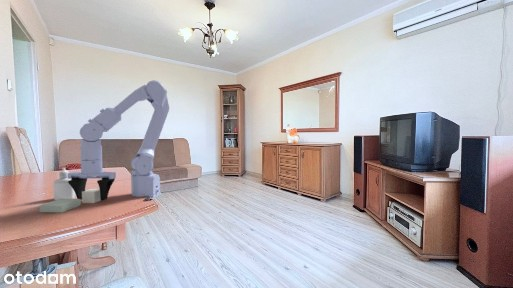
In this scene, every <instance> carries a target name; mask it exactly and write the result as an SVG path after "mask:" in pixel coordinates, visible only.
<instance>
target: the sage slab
mask: <svg viewBox="0 0 513 288" xmlns="http://www.w3.org/2000/svg"><path fill="white" fill-rule="evenodd" d="M81 204H82V200H81V199H77V198H73V199H58V200H52V201H50V202H46V203H42V204H39V212H60V213H59V214H63V213H62V212H64V211H67V210H69V209H72V208H75V207H77V206H80V205H81ZM80 207H81V206H80ZM75 209H76V208H75Z"/></svg>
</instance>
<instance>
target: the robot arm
mask: <svg viewBox="0 0 513 288" xmlns="http://www.w3.org/2000/svg"><path fill="white" fill-rule="evenodd" d="M167 93H168V91H167V89H166V88H165V86H164V85H163V83H162V82H160V81H159V80H150V81H148V82H147V84H144V85H142V86H140V87H138V88H137V89H135V90H133V91H132V92H131V93H130V94H129V95H128V96H126V97H125V98H124V99H123V100H122V101H120V102H119V103H118V104H116V106H114V107H106V108H105V109H104V108H101V109H100V110H99V114H96V116H95V117H93V118H92V119H91V118H89V119H88V120H87V123H84V124H83V125H82V127H81V128H80V130H79V135H80V137H81V140H80V171H70V172H69V173H68V179H71V180H70V181H68V183H69V184H70V185H71V187H72V188H73V190H74V192H75V197H76V199H81V201H82V192H83V191H86V186H87V181H88V179H99V180H97V181H96V183H97V184H98V189H100V199H101V200H100V201H101V202H103V201H105V200H108V196H109V192H110V190H111V188H112V185H113V184H114V182H115V181H116V180H115V179H116V178H117V177H116V171H115V172H113V171H104V169H103V145H102V139H101V138H103V134H104V133H107V132H109V131H110V130H111V129H113V128H114V127H115V126H116V125H117V124H118V123H119V122H121V121H122V115H123V114H124V113H125V112H126V111H127V110H129V109H130V108H132V107H133V106H134V105H135V104H136V103H138V102H143V101H146V100H147V102H149V104H150V105H151V106H152V107H153V113H152V116H151V119H150V121H149V123H148V126H147V129H146V132H145V134H144V137H143V139H142V142H141V145H140V148H139V149H138V151H137V153H136V154H135V156H134V157H133V158H132V159H131V160H130V167H131V168H132V169H133V171H132V172H131V174H130V178H131V179H130V180H131V181H130V183H131V185H130V186H131V187H130V188H131V197H137V198H138V197H145V198H144V199H143V200H146V201H151V200H150V199H152V200H154V199H155V198H157V197H158V196H160V195H161V194H162V192H161V177H160V175H159V174H157V173H154V172H153V171H152V170H153V169H154V158H155V151H156V150H155V149H156V147H157V144H158V141H159V139H160V136H161V134H162V131H163V128H164V124H165V123H166V120H167V117H168V114H169V112H170V105H169V99H168V96H167V95H168V94H167ZM148 195H149V196H148ZM150 197H151V198H150Z"/></svg>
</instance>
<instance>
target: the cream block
mask: <svg viewBox="0 0 513 288" xmlns="http://www.w3.org/2000/svg"><path fill="white" fill-rule="evenodd" d="M100 201H101V199H100V188H89V189H85V191H83V192H82V200H81V204H95V203H98V202H100Z"/></svg>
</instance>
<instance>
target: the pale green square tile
mask: <svg viewBox="0 0 513 288" xmlns="http://www.w3.org/2000/svg"><path fill="white" fill-rule="evenodd" d="M85 205H86V203H81V205H80V206H77V207H75V208H72V209H69V210H67V211H64V212H62V213H60V212H40V211H38V212H36V214H66V213H68V212H70V211H73V210H75V209H77V208H79V207H82V206H85Z"/></svg>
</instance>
